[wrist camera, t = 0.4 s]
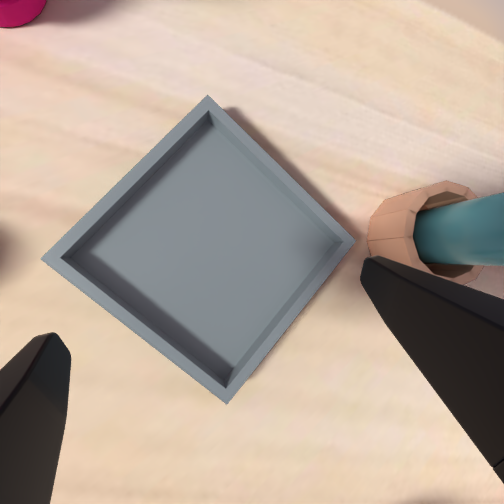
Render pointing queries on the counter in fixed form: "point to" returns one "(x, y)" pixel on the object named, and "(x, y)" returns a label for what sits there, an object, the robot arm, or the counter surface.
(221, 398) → the tray
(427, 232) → the spice jar
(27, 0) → the pepper mill
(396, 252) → the terracotta cup
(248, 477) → the counter surface
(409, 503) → the counter surface
